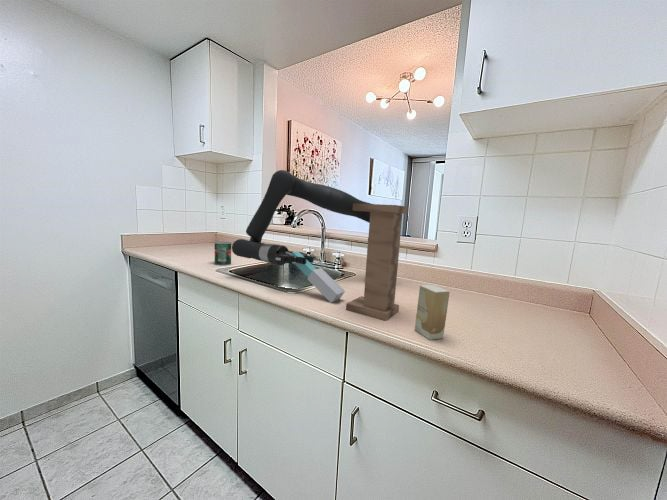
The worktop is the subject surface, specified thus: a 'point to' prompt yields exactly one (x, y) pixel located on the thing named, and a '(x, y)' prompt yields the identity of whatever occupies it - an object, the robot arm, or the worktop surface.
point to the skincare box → (431, 311)
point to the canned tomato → (222, 253)
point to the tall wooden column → (380, 261)
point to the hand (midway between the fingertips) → (309, 260)
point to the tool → (320, 280)
